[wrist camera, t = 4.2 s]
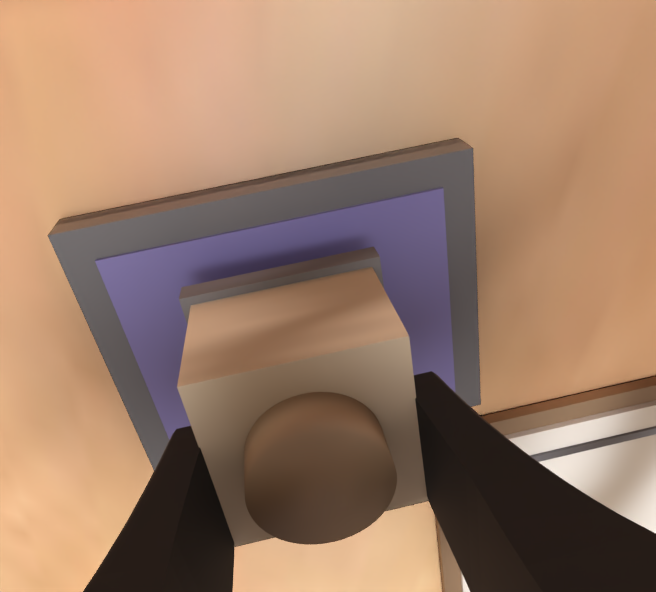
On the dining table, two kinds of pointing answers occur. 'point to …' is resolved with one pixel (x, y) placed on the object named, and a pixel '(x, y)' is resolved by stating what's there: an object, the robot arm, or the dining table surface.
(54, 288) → the dining table surface
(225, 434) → the stamp
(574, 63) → the dining table surface
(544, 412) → the clipboard
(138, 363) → the ink tray
